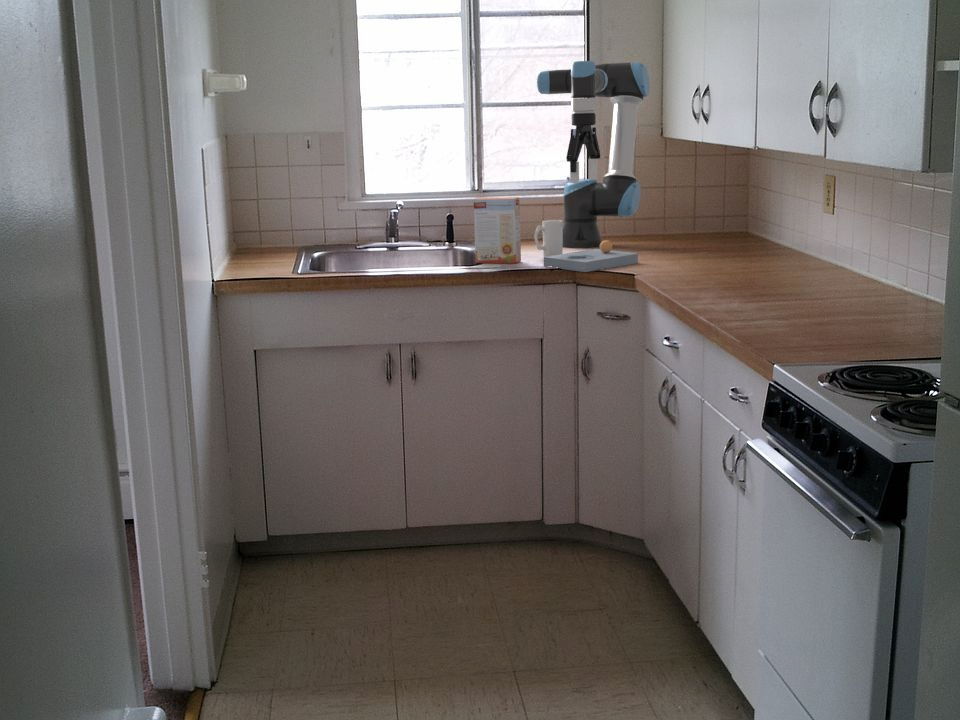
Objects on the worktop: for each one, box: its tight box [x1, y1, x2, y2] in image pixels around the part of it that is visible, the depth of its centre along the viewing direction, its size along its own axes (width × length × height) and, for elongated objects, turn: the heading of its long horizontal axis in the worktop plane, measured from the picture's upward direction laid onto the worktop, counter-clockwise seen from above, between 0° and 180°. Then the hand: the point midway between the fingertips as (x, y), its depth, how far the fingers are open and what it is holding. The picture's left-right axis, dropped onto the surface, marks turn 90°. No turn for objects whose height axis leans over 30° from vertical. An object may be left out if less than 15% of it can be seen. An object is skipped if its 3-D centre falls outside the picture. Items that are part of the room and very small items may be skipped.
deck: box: [543, 248, 639, 273], centre depth 328 cm, size 24×18×3 cm
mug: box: [534, 219, 564, 258], centre depth 345 cm, size 10×7×12 cm, turn 113°
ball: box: [599, 239, 613, 253], centre depth 332 cm, size 4×4×4 cm
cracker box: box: [473, 196, 522, 265], centre depth 336 cm, size 14×6×21 cm, turn 72°
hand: (583, 181), depth 330 cm, fingers open, 13 cm apart
